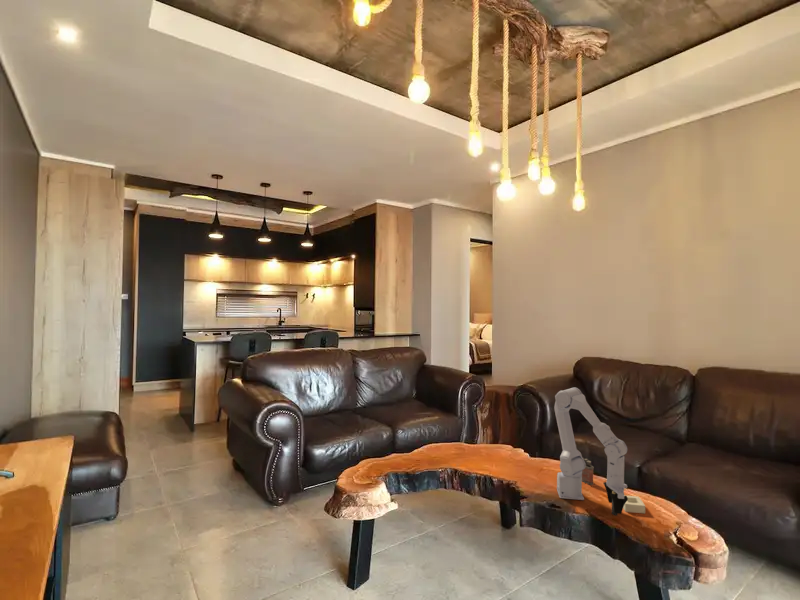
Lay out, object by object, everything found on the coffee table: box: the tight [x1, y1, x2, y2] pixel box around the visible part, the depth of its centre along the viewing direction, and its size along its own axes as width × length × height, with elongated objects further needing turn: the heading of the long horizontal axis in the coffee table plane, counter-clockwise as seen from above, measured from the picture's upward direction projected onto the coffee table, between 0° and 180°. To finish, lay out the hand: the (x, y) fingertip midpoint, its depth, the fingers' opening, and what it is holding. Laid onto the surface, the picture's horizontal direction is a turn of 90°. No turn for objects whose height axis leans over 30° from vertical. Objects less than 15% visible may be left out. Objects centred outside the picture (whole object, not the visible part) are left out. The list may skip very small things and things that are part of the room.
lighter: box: [582, 457, 595, 486], centre depth 187 cm, size 8×3×10 cm, turn 30°
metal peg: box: [611, 491, 618, 516], centre depth 161 cm, size 2×2×9 cm
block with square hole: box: [623, 494, 646, 514], centre depth 165 cm, size 7×7×3 cm
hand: (614, 507), depth 161 cm, fingers open, 7 cm apart
